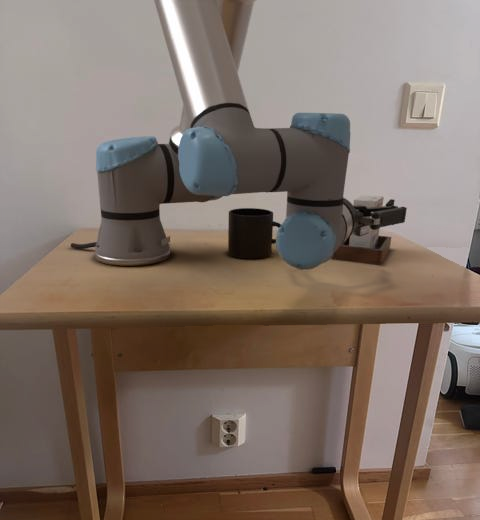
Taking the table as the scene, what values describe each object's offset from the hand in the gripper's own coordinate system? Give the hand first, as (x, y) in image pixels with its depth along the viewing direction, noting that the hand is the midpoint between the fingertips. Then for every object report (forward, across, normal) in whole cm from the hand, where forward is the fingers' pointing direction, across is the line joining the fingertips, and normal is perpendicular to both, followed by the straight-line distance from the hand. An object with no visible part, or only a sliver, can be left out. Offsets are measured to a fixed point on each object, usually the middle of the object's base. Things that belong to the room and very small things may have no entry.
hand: (355, 203), depth 93 cm
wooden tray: (+11, +1, -13) cm, 17 cm away
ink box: (+11, +1, -12) cm, 17 cm away
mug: (0, -20, -13) cm, 24 cm away
